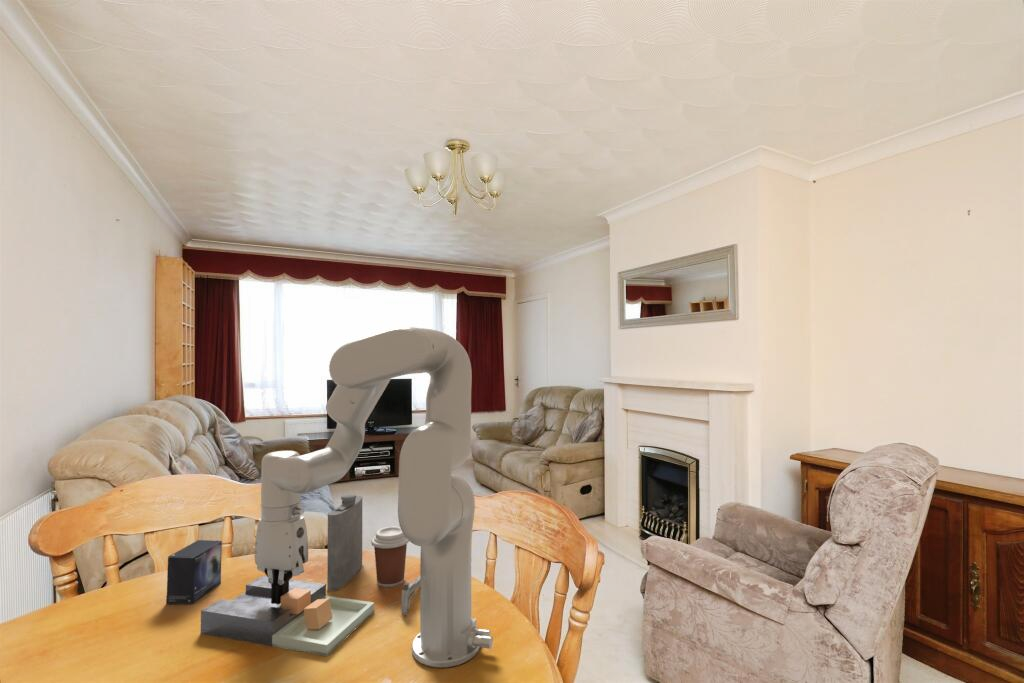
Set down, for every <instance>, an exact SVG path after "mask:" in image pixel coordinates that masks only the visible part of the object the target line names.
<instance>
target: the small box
mask: <svg viewBox="0 0 1024 683" xmlns="http://www.w3.org/2000/svg"><path fill="white" fill-rule="evenodd" d="M222 547H223V541H222V540H210V539H209V540H208V539H206V540H205V539H198V540H196V541H194V542H192V543H190V544H189V545H187V546H185V547H184V548H181V549H179V550H177V551H176V552H174V553H172V554H170V555H168V556H167V576H166V577H167V579H166V580H167V581H166V598H165V599H166V600H165V601H166V602H165V603H166V604H168V605H169V604H170V605H171V604H172V605H176V604H177V605H193V604H195V603H196V602H197V601H199V600H200V599H201V598H202V597H204V596H205V595H206V594H208V593H209V592H211V591H212V590H213V589H215V588H217V587H218V586H219V585H221V583H222V580H221V579H222V553H223V552H222V551H223V550H222V549H223V548H222Z"/></svg>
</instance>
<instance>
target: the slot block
mask: <svg viewBox="0 0 1024 683" xmlns="http://www.w3.org/2000/svg"><path fill="white" fill-rule="evenodd" d="M294 588H299V589H306V590H311V603H313V602H314V601H316V600H317V599H322V598H323V597H325V596H327V584H326V583H320V582H319V583H318V582H312V581H304V580H297V579H292V578H291V579H290V580H289V591H291V590H292V589H294ZM303 612H304V610H303V611H301V612H300V613H299V614H291V613H290V610H289V609H283V608H281V603H280V604H279V605H278V604H276V603H275V604H272V603H271V584H270V583H269V582H268V577H267V575H261V576H259V577H257V578H256V579H254V580H252V581H250V582H248V583H246V584H245V592H243V593H241V594H240V595H238V596H237V597H234V598H233V599H231V600H230V599H223V598H220V599H219V600H216V601H215V602H214V603H212V604H210V605H208V606H206V607H205V608H203V609H201V610H200V634H202V635H206V636H207V635H208V636H212V637H218V638H224V639H228V640H233V641H234V640H235V641H240V642H241V641H242V642H245V643H250V644H251V643H252V644H258V645H263V646H268V647H273V646H272V635H274V634H275V633H276V632H278V631H279V630H280V629H282V628H283V627H284V626H286V625H287V624H289V623H290V622H291V621H293V620H294V619H295V618H297V617H298V616H299V615H301V614H302V613H303Z"/></svg>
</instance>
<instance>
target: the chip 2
mask: <svg viewBox="0 0 1024 683" xmlns="http://www.w3.org/2000/svg"><path fill="white" fill-rule="evenodd" d="M304 613H305V620H306V627H307V629H320V628H321V627H322V626H324V625H325V624H326V623H328V622H329V621H330V620H331V619H333V618H332V612H331V605H330V598H329V599H317V600H316V601H314V602H313V603H311V604H310V605H309V606H307V607H306V608H304Z"/></svg>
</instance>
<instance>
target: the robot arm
mask: <svg viewBox="0 0 1024 683" xmlns="http://www.w3.org/2000/svg"><path fill="white" fill-rule="evenodd" d="M328 367H329V369H328V371H329V375H330V378H331V380H332V382H334V383H335V385H336V386H335V388H334V390H333V391H332V394H331V395H330V397H329V399H328V400H327V402H326V405H325V410H326V413H327V415H328V416H329V418H331V420H333V422H336V427H335V429H334V431H333V434H332V435H331V438H329V441H328V443H327V444H326V446H325V447H324V448H321V449H319V450H315V451H312V452H308V453H305V454H302V455H301V454H300V453H299V452H298V451H296V450H295V451H294V450H276V451H271V452H268V453H266V454H264V456H263V457H262V459H261V469H260V470H261V473H260V474H261V477H260V478H261V482H260V483H261V488H260V490H261V491H260V518H259V519H258V523H257V528H256V532H255V541H254V542H255V543H254V563H255V565H256V569H257V571H259V572H262V573H264V574H265V576H267V577H268V582H269V583H270V584H271V603H272V604H275V603H276V604H278V605H279V604H280V603H281V596H283V595H284V594H286V593H287V592H289V580H290V579H291V580H292V578H293V577H298V576H301V575H302V574H304V572H305V568H304V564H306V563H307V562H308V560H309V541H308V531H307V525H306V520H305V516H302V515H303V514H304V513H305V508H304V507H301V505H302V502H301V501H302V500H301V497H302V495H304V494H310V493H311V492H314V491H316V490H319V489H321V488H323V487H325V486H328V485H331V484H333V483H336V482H338V481H340V480H341V479H342V478H343V477H345V475H346V474H347V473H348V472H349V471H350V469H351V467H352V466H353V464H354V462H355V460H356V459H357V458H358V455H359V454H360V452H361V450H362V448H363V445H364V441H365V434H366V428H365V427H366V422H367V420H368V418H369V417H370V415H371V414H372V412H373V410H374V409H375V406H376V405H377V403H378V401H379V400H380V398H381V396H383V393H384V391H385V390H386V389H387V387H388V384H390V381H391V380H392V379H394V378H396V377H401V376H405V375H415V374H423V373H424V374H425V373H426V374H428V375H429V376H430V381H429V384H428V388H427V391H426V398H425V408H426V409H425V420H424V425H421V426H419V427H417V428H415V429H414V430H412V431H411V432H410V433H409V434H408V435H407V436H406V438H405V440H404V441H403V443H402V446H401V450H400V452H399V461H398V462H399V463H398V466H399V467H398V486H397V487H398V488H397V492H398V493H397V519H398V523H399V524H398V525H399V527H400V528H401V530H402V532H403V534H404V536H405V537H406V538H407V539H408V540H409V543H411V544H413V545H415V546H418V547H420V565H419V566H420V567H419V568H420V569H419V570H420V571H419V572H420V575H419V576H420V586H419V587H420V589H419V590H420V591H419V592H420V593H419V594H420V595H419V597H420V601H419V602H420V605H419V606H420V607H419V608H420V609H419V610H420V611H419V612H420V621H419V624H420V627H419V629H420V631H419V633H418V634H416V636H415V637H414V638H413V640H412V643H411V654H412V655H413V658H414V659H415V660H416V661H418V662H419V663H421V664H422V665H425V666H428V667H433V668H450V667H456V666H459V665H461V664H465V663H466V662H468V661H470V660H472V658H473V657H475V656H476V654H477V653H478V652H479V650H480V648H481V649H482V648H483V649H490V650H491V649H492V647H493V644H494V643H493V642H494V638H493V636H491V630H490V629H485V628H479V626H477V618H476V617H472V543H473V541H472V540H473V539H472V538H473V529H474V526H473V525H474V518H475V506H476V505H475V504H476V502H475V495H474V491H473V489H472V487H471V485H470V484H469V482H468V481H467V480H466V479H464V478H463V477H461V476H459V475H456V474H452V472H454V471H455V470H456V469H458V468H460V467H461V466H462V465H463V464H464V463H465V462H466V461H467V459H468V458H469V456H470V452H471V444H472V443H471V441H472V440H471V439H472V438H471V437H472V435H471V433H472V431H471V429H472V428H471V427H472V382H473V380H472V379H473V377H472V376H473V375H472V372H473V371H472V364H471V361H470V357H469V355H468V352H467V350H466V349H465V347H464V346H463V344H461V343H460V341H458V340H457V339H456V338H454V337H453V336H451V335H449V334H447V333H446V332H443V331H439V330H436V329H430V328H421V327H414V326H413V327H412V326H399V327H396V328H390V329H388V330H385V331H382V332H379V333H376V334H373V335H370V336H366V337H364V338H360V339H357V340H353V341H349V342H347V343H346V344H343V345H341V346H340V347H339V348H338V349H336V351H335V352H334V353H333V355H332V356H331V358H330V361H329V365H328Z"/></svg>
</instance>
